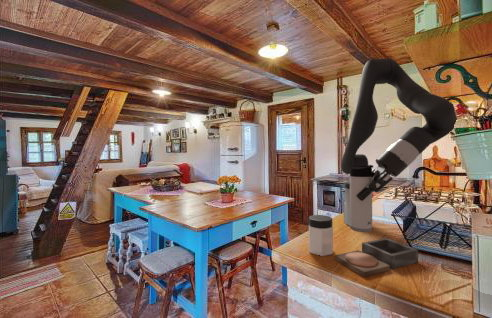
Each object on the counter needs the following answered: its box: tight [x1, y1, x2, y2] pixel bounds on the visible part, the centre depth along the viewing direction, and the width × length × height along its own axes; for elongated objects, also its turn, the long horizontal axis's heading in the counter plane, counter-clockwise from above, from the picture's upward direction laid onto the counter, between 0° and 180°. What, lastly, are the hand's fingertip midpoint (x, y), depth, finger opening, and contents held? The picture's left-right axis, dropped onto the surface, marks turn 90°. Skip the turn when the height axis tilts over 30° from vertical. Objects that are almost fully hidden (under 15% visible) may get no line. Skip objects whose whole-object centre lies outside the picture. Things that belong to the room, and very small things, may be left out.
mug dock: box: [334, 237, 419, 278], centre depth 80 cm, size 12×23×4 cm, turn 111°
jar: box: [307, 214, 334, 257], centre depth 88 cm, size 9×8×12 cm
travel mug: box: [349, 164, 374, 233], centre depth 77 cm, size 6×7×20 cm
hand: (355, 196), depth 77 cm, fingers closed on travel mug, 6 cm apart
